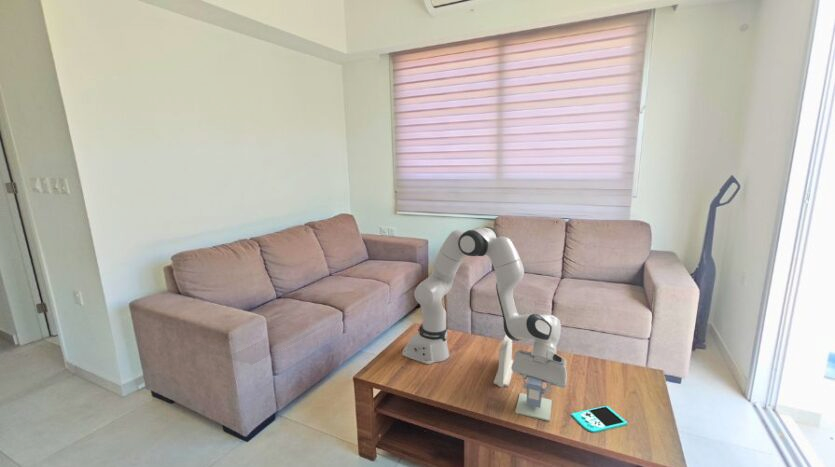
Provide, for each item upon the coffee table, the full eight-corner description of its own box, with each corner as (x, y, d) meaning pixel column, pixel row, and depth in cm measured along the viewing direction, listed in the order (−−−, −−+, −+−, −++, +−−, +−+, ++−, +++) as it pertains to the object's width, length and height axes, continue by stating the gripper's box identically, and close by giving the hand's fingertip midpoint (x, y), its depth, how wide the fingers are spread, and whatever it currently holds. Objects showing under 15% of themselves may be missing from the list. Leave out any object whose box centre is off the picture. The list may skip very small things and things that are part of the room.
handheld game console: (570, 415, 137) (570, 412, 137) (606, 407, 142) (607, 404, 141) (589, 435, 128) (589, 431, 128) (627, 425, 132) (628, 422, 132)
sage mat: (515, 413, 138) (515, 411, 138) (519, 394, 149) (519, 392, 149) (549, 421, 134) (549, 420, 134) (551, 401, 145) (551, 399, 145)
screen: (493, 385, 155) (494, 349, 152) (502, 358, 175) (504, 327, 172) (507, 388, 153) (509, 352, 150) (515, 361, 173) (517, 329, 169)
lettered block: (526, 405, 140) (527, 383, 138) (527, 396, 144) (529, 375, 142) (540, 408, 138) (541, 386, 136) (541, 399, 142) (542, 378, 141)
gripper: (514, 345, 149) (505, 380, 143) (569, 360, 138) (561, 398, 132) (518, 351, 153) (508, 384, 147) (570, 365, 143) (563, 402, 137)
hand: (534, 391), depth 140 cm, fingers closed on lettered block, 5 cm apart
